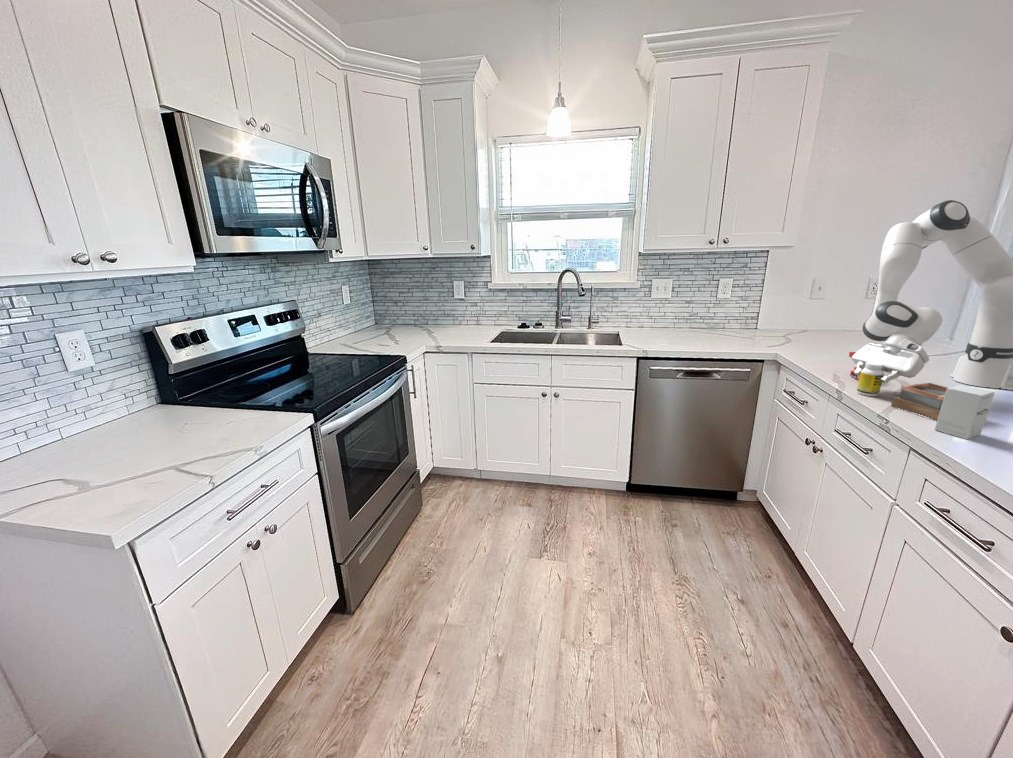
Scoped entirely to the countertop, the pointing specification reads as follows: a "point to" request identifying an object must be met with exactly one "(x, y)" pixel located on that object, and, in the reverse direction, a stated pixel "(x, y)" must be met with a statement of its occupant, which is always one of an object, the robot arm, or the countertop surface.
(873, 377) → the pill bottle
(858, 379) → the toy fire truck
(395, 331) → the countertop surface
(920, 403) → the wooden tray
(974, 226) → the robot arm
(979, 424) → the supplement box
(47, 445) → the countertop surface
